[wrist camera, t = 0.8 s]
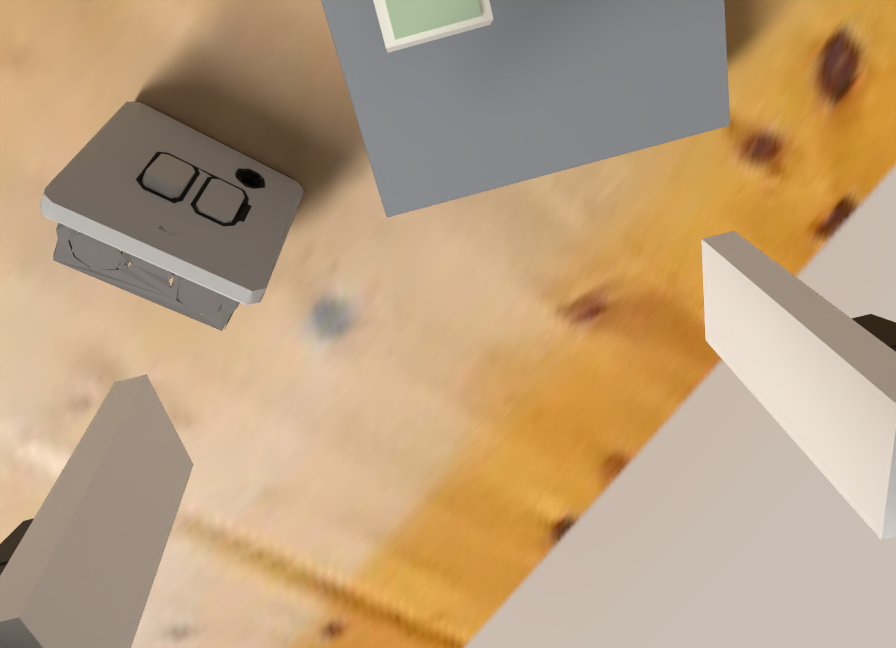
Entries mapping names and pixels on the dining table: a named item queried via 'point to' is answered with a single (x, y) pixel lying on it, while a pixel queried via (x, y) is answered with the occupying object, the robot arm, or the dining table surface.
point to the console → (529, 91)
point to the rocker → (428, 20)
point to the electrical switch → (171, 215)
